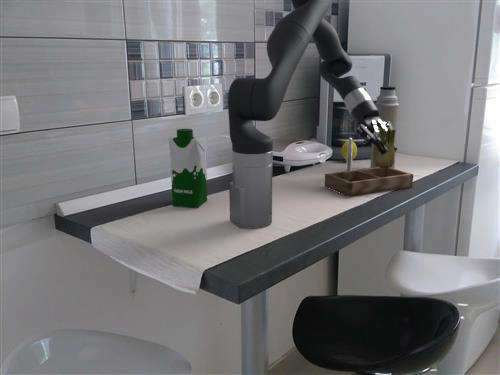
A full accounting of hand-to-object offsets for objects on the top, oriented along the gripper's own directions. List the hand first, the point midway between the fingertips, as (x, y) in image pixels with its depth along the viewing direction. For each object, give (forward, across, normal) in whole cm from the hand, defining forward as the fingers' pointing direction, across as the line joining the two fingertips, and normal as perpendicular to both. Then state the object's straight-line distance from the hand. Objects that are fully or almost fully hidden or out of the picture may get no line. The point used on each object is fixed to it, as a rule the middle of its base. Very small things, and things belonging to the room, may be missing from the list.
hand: (390, 151), depth 146 cm
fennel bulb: (+2, 0, +5) cm, 6 cm away
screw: (-2, -1, +18) cm, 18 cm away
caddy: (+6, -5, +9) cm, 12 cm away
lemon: (-14, +17, +30) cm, 37 cm away
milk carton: (-6, -56, +22) cm, 61 cm away
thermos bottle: (-3, +16, +18) cm, 25 cm away
